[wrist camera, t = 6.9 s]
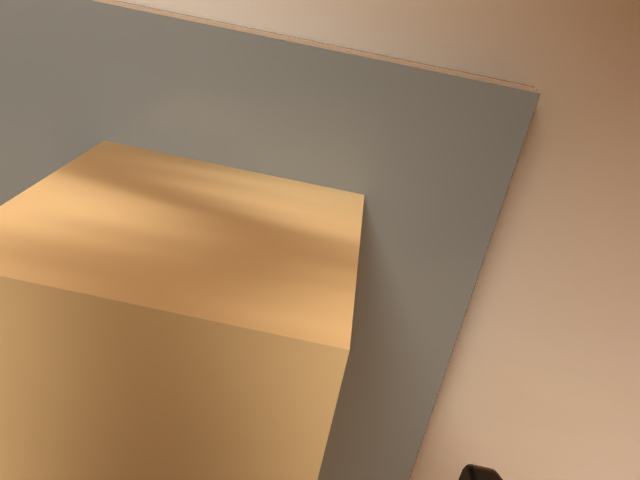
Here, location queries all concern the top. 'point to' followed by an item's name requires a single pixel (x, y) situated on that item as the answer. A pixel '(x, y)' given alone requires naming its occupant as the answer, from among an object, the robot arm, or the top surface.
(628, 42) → the top surface
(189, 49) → the slate coaster
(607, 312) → the top surface
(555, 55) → the top surface
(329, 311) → the oak cube
